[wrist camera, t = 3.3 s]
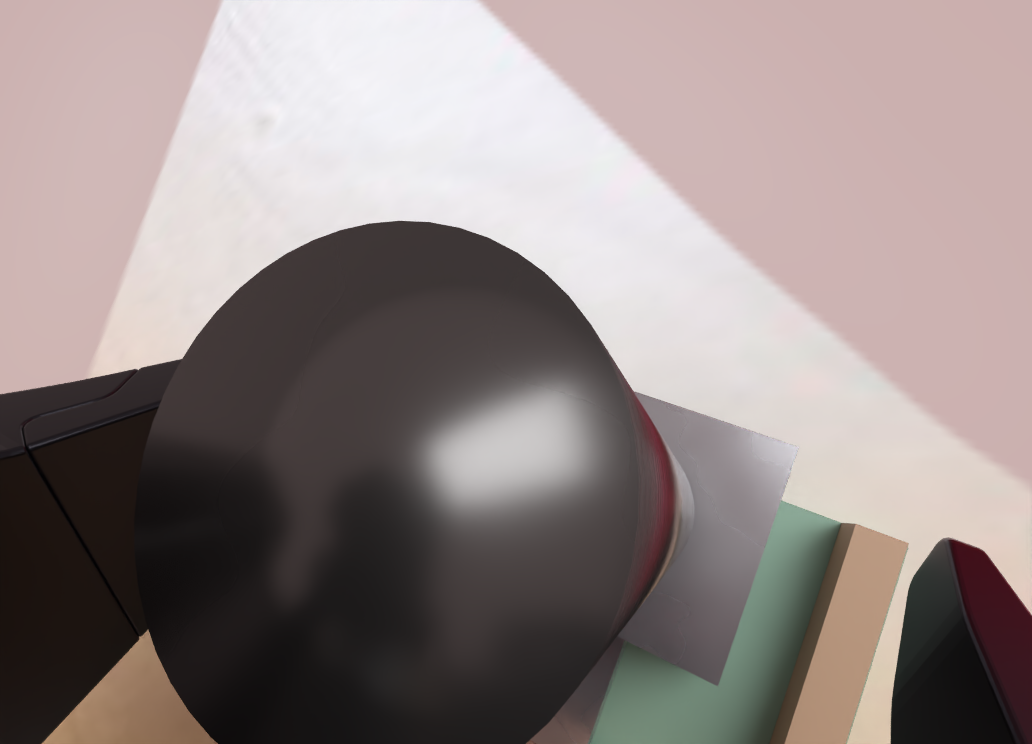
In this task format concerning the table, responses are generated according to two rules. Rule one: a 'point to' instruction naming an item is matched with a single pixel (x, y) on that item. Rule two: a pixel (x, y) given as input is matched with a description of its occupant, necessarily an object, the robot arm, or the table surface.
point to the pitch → (774, 648)
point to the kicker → (431, 505)
